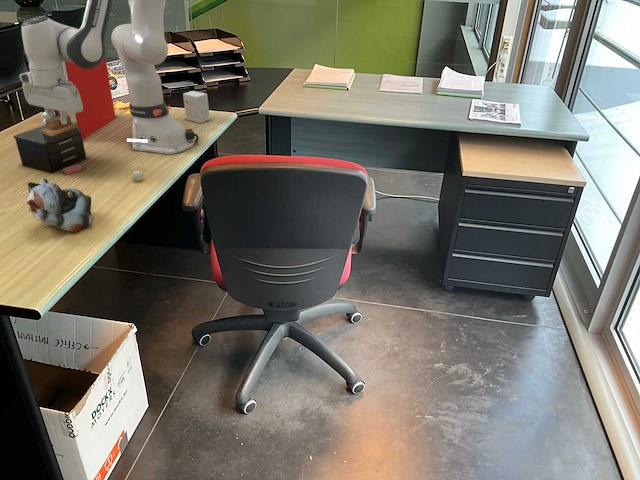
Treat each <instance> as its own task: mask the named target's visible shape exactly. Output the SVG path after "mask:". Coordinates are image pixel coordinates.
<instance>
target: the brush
mask: <svg viewBox="0 0 640 480" xmlns="http://www.w3.org/2000/svg"><path fill="white" fill-rule="evenodd" d="M55 116H56V115H55ZM59 118H60V115H59V116H56V117H53V118H50V119H47V120H45V121H46V125H47V128H45V129H42V130H41V132H42V134H43V136H44V140H46V141H50V142H56V141H59V140H61V139H64V138H67V137H69V136H72V135H75V134H77V133H79V132H78V123H75V122H71V119H70V115H67V118H66V119H67V124H65V125H62V124H59V120H58V119H59Z"/></svg>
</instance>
